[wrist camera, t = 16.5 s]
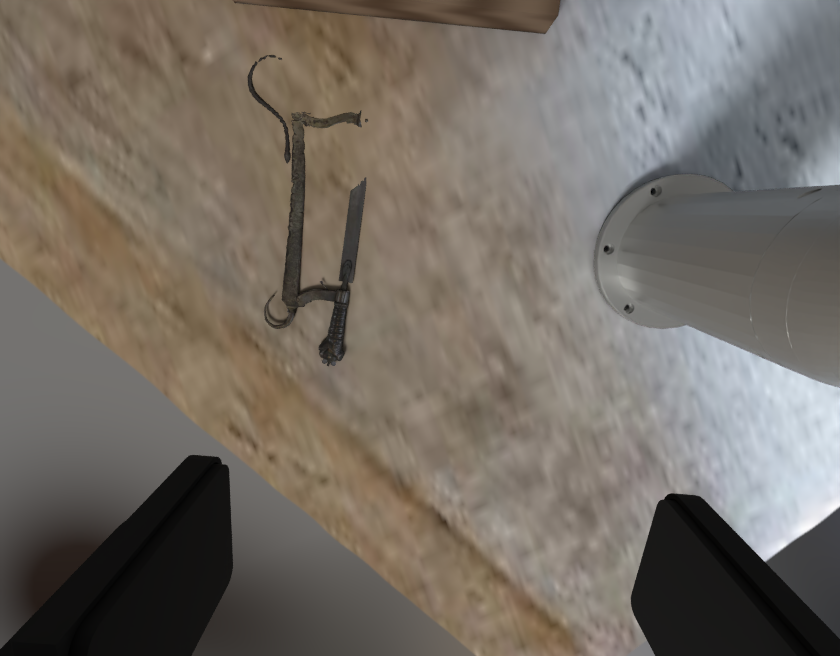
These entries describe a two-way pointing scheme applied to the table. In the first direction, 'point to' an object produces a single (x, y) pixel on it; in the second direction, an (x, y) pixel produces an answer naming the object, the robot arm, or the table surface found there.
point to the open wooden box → (440, 11)
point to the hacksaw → (290, 296)
